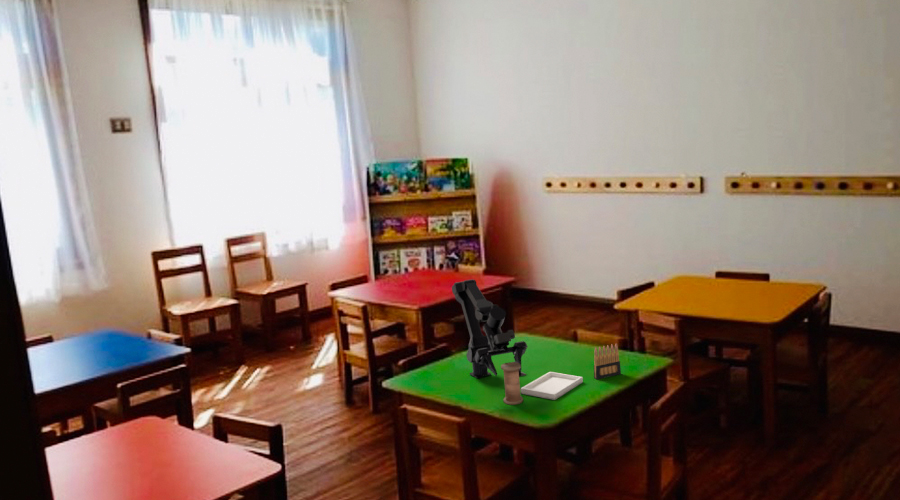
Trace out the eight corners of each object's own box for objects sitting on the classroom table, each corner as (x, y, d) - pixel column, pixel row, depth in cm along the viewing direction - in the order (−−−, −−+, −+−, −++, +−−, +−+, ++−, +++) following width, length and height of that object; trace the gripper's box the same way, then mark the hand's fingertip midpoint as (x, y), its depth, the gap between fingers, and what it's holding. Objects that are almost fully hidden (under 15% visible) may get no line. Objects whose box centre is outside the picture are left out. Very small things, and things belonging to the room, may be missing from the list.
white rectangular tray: (554, 400, 249) (554, 394, 248) (520, 393, 258) (520, 388, 257) (582, 382, 264) (582, 377, 263) (550, 376, 273) (549, 371, 272)
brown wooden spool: (499, 400, 252) (497, 365, 250) (516, 396, 255) (513, 361, 253) (510, 406, 246) (507, 369, 244) (526, 401, 249) (524, 365, 247)
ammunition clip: (596, 379, 266) (594, 348, 264) (593, 378, 267) (592, 347, 265) (621, 374, 269) (619, 343, 267) (618, 372, 271) (616, 342, 269)
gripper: (474, 327, 252) (488, 365, 243) (523, 319, 257) (538, 356, 248) (469, 343, 260) (482, 381, 251) (516, 335, 266) (530, 372, 257)
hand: (508, 372), depth 252 cm, fingers open, 9 cm apart
